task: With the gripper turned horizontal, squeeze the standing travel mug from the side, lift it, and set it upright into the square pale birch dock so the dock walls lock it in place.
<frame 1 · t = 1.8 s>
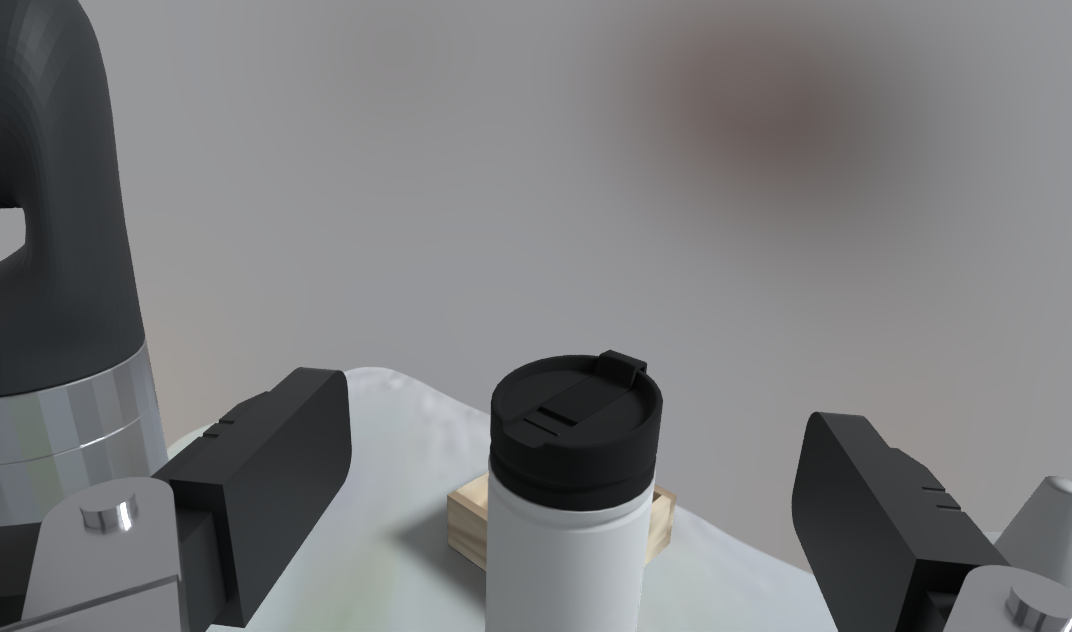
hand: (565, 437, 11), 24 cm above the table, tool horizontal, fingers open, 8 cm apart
birch dock: (560, 543, 44), on the table
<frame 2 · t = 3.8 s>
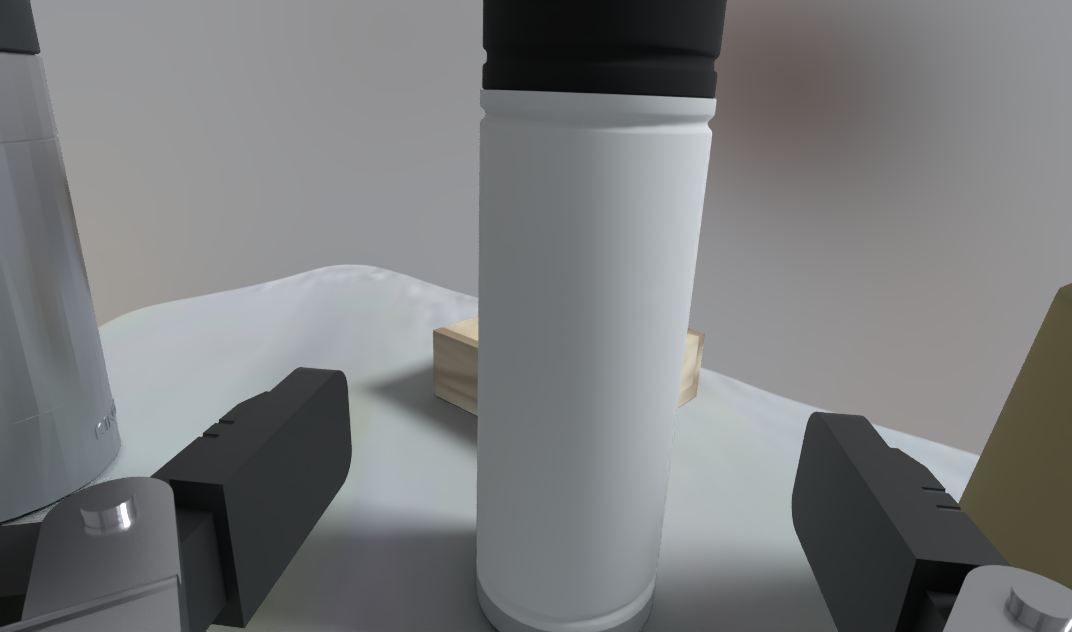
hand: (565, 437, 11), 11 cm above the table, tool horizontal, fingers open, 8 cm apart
birch dock: (567, 395, 37), on the table
travel mug: (566, 590, 23), on the table
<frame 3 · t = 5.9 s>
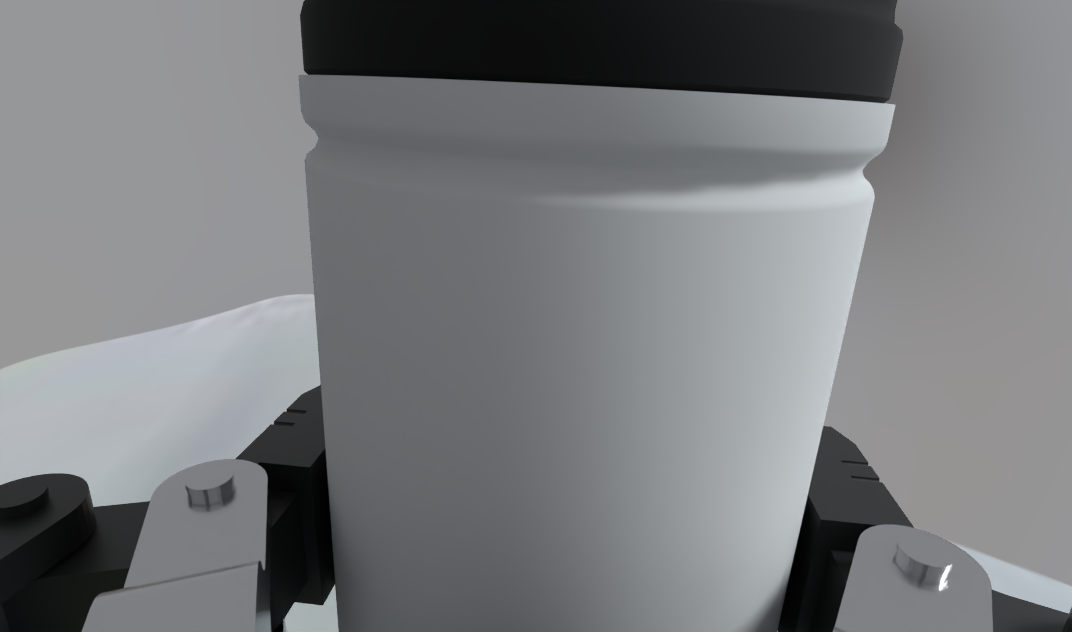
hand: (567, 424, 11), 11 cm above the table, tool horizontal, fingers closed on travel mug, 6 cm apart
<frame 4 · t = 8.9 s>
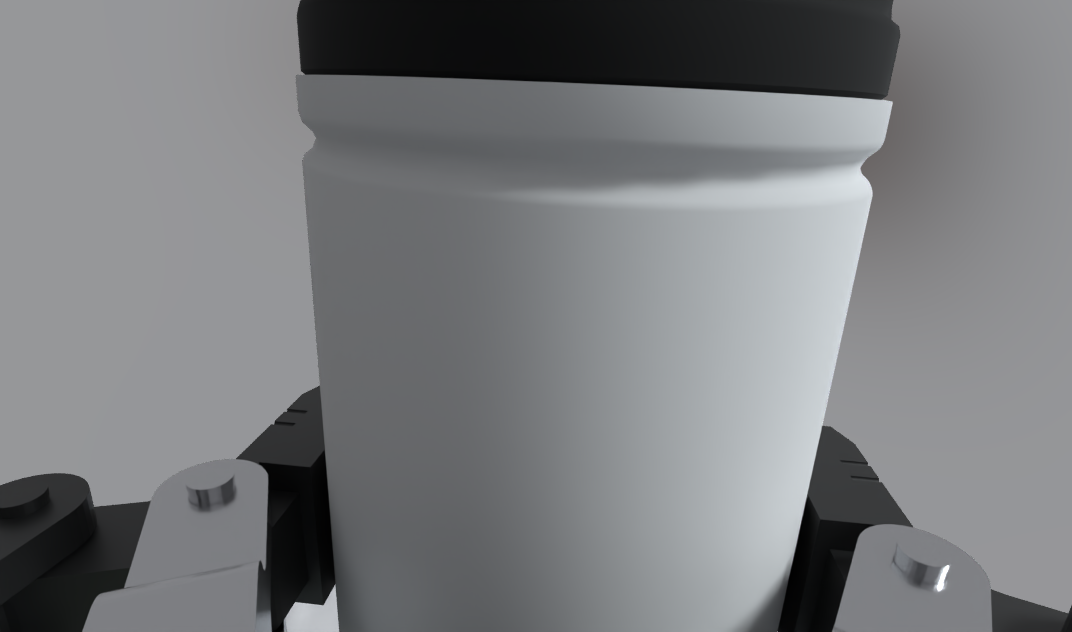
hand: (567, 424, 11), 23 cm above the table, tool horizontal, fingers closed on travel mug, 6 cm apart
when the fingers open (13 cm above the table, at t = 11.7 s): travel mug drops 1 cm, resting on birch dock.
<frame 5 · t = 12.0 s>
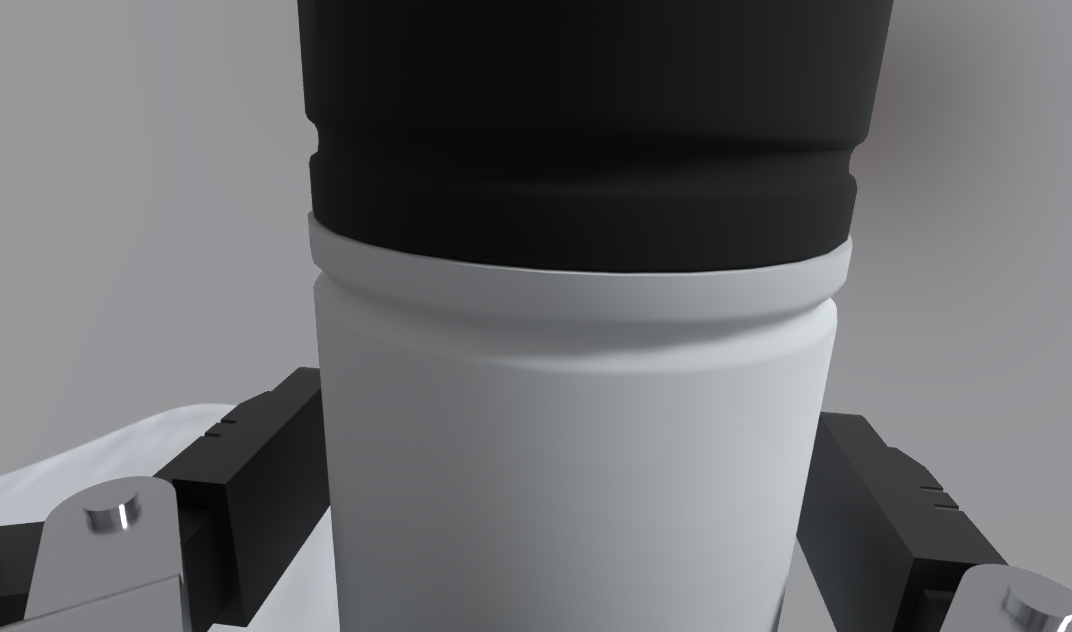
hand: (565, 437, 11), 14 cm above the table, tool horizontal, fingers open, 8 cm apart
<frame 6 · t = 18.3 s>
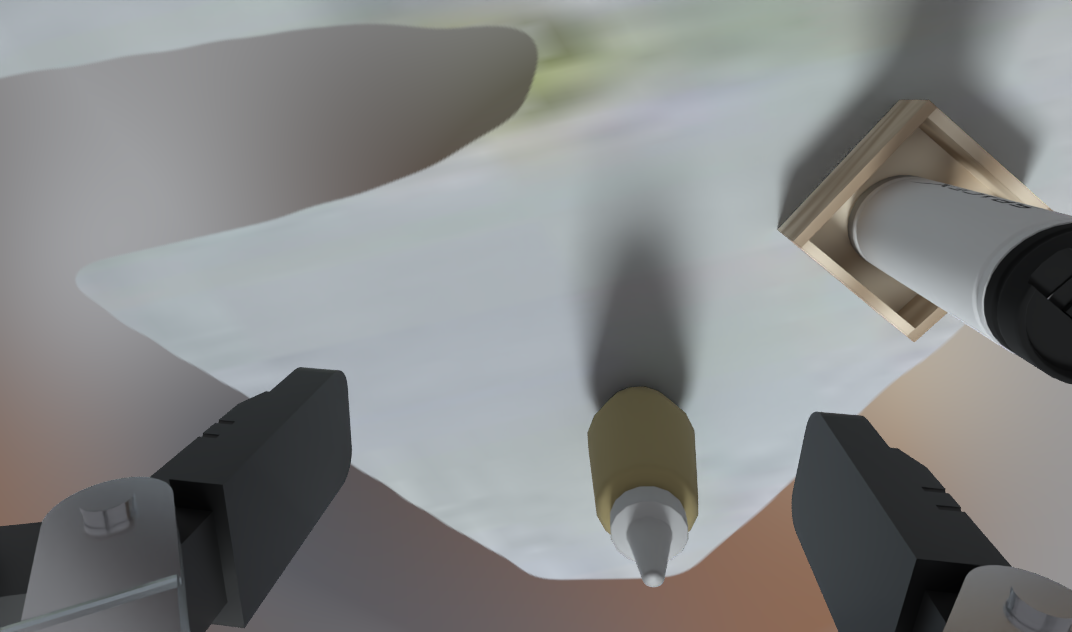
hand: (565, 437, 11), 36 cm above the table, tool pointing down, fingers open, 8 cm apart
birch dock: (894, 217, 43), on the table
travel mug: (895, 222, 43), point 1 cm above the table, touching birch dock
squeeze bottle: (638, 416, 51), on the table
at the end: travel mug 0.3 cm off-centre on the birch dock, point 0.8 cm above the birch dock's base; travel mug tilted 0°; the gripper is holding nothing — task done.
